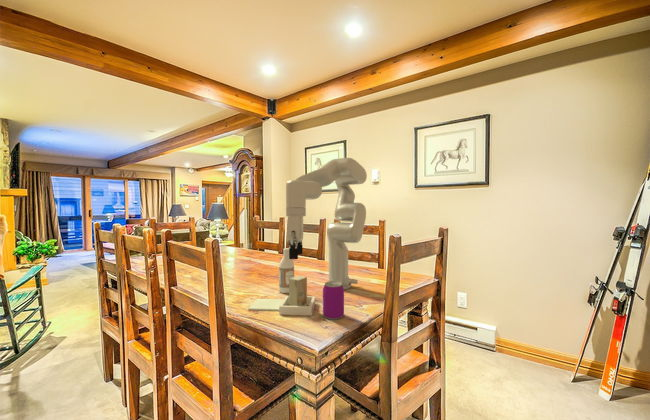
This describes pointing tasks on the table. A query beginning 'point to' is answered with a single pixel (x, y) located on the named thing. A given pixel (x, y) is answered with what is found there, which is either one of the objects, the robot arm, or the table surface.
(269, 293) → the table surface
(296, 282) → the skincare box
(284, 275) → the bath foam
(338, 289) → the beverage can
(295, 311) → the collar
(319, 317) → the table surface
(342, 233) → the robot arm
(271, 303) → the mat
